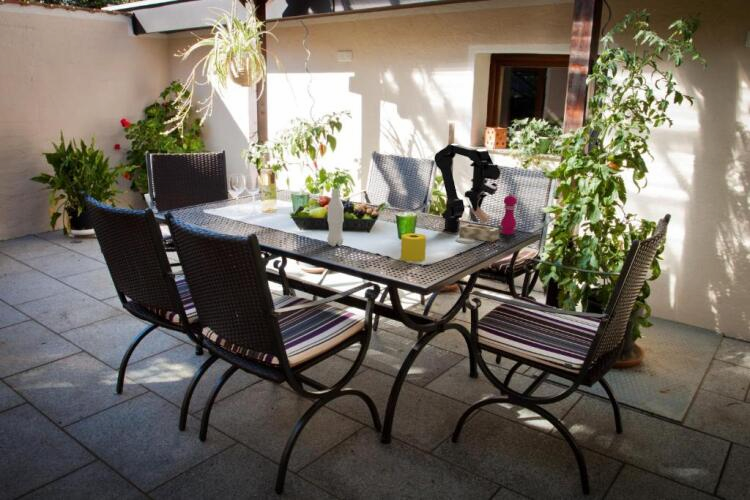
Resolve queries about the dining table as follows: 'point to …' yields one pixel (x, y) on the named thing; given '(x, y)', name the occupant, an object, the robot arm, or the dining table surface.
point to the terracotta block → (481, 214)
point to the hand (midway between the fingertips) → (477, 210)
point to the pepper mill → (509, 215)
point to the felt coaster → (465, 240)
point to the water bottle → (335, 219)
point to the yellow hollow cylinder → (413, 247)
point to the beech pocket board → (479, 232)
